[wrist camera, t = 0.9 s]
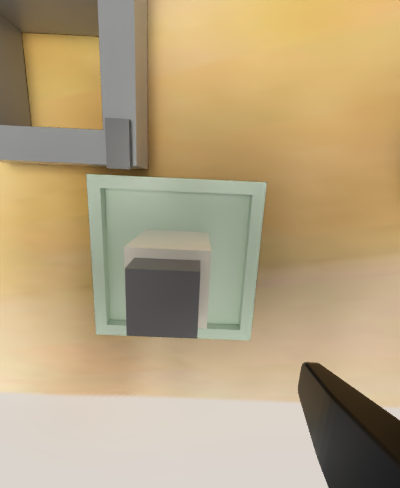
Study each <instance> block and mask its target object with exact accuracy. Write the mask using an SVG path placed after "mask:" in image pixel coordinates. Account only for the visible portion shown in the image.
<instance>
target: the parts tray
mask: <svg viewBox="0 0 400 488" xmlns="http://www.w3.org/2000/svg"><path fill="white" fill-rule="evenodd" d="M86 177H87V193H88V210H89V226H90V243H91V259H92V276H93V292H94V309H95V325H96V335H122V336H127V332H126V306H125V271H124V247H125V246H126V245H127V244H128V243H130V242H131V241H132V240H133V239H134V238H136V237H137V236H138V235H139V234H140V233H142V232H143V231H144V230H167V231H190V232H208V235H209V241H210V247H211V263H210V281H209V298H208V316H207V329H202V328H198V334H197V338H198V339H224V340H250V339H251V329H252V319H253V310H254V300H255V291H256V281H257V271H258V262H259V252H260V243H261V233H262V223H263V214H264V204H265V195H266V185H267V182H250V181H228V180H207V179H185V178H163V177H141V176H119V175H97V174H86ZM147 337H149V336H147ZM173 338H175V337H173Z"/></svg>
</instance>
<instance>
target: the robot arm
mask: <svg viewBox="0 0 400 488" xmlns="http://www.w3.org/2000/svg"><path fill="white" fill-rule="evenodd" d="M298 394H299V398H300V401H301V405H302V408H303V411H304V415H305V418H306V422H307V425H308V428H309V432H310V435H311V438H312V442H313V445H314V448H315V451H316V455H317V458H318V461H319V464H320V466H321V469H322V472H323V474H324V477H325V479H326V482H327V484H328V487H329V488H400V420H398V419H397V418H396V417H394V416H393V415H391V414H390V413H389V412H387V411H386V410H384V409H383V408H381V407H380V406H379V405H377V404H376V403H374V402H373V401H372V400H370V399H369V398H367V397H366V396H364V395H363V394H362V393H360V392H359V391H357V390H356V389H355V388H353V387H352V386H350V385H349V384H348V383H346V382H345V381H343V380H342V379H340V378H339V377H338V376H336V375H335V374H333V373H332V372H331V371H329V370H328V369H326V368H325V367H323V366H322V365H321V364H319V363H314V362H304V363H303V364H302V366H301V372H300V378H299V384H298Z"/></svg>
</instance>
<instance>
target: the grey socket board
mask: <svg viewBox="0 0 400 488" xmlns="http://www.w3.org/2000/svg"><path fill="white" fill-rule="evenodd" d="M21 32H28V33H47V34H67V35H86V36H99V47H100V70H101V93H102V116H103V130H92V129H71V128H50V127H31V119H30V110H29V100H28V91H27V81H26V72H25V63H24V53H23V44H22V34H21ZM0 162H6V163H23V164H45V165H67V166H88V167H107V168H109V169H130V170H132V169H148V51H147V0H0Z"/></svg>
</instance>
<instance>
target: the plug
mask: <svg viewBox="0 0 400 488" xmlns="http://www.w3.org/2000/svg"><path fill="white" fill-rule="evenodd" d="M210 263H211V247H210V241H209V235H208V232H190V231H167V230H144V231H143V232H142V233H140V234H139V235H138V236H137V237H136V238H134V239H133V240H132V241H131V242H130V243H128V244H127V245H126V246H125V247H124V271H125V306H126V332H127V336H149V337H175V338H197V334H198V328H202V329H207V316H208V298H209V281H210Z"/></svg>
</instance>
